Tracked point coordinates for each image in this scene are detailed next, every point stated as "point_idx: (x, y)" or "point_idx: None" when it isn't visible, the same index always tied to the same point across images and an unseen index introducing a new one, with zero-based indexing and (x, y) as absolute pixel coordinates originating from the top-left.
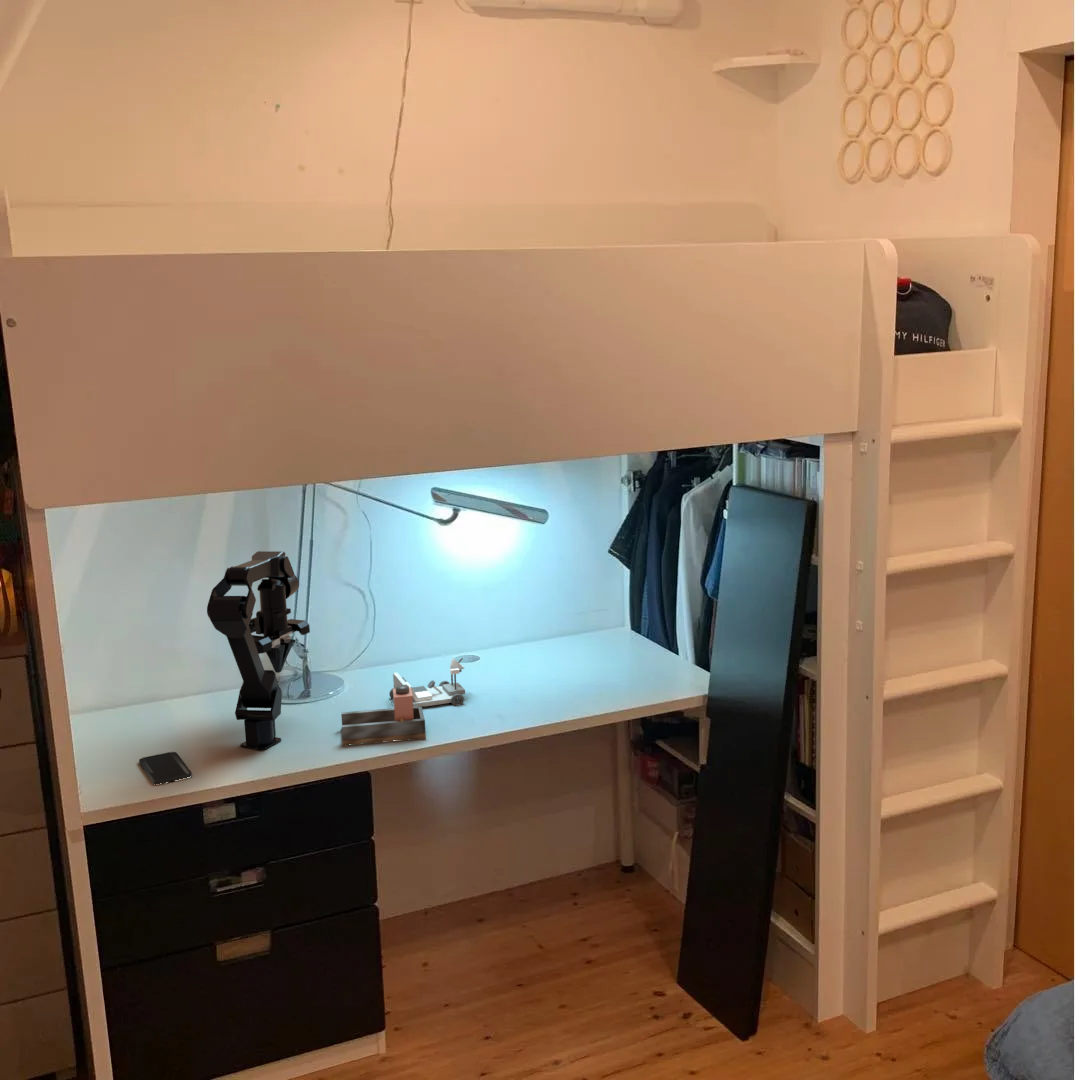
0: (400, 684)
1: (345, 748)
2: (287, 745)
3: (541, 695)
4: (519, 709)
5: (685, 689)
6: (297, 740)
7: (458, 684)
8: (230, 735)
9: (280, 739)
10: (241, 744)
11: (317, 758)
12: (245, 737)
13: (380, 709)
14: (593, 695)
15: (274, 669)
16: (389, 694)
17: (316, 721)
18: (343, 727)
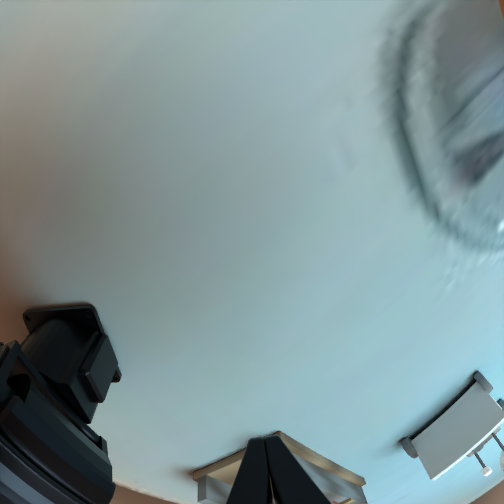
0: (449, 459)
1: (187, 477)
2: (115, 401)
3: (469, 471)
4: (425, 492)
5: (470, 500)
6: (152, 403)
7: (492, 436)
8: (52, 209)
9: (115, 381)
10: (25, 317)
11: (119, 465)
12: (20, 345)
13: (330, 492)
14: (464, 488)
15: (242, 458)
16: (481, 375)
17: (297, 360)
18: (200, 502)
